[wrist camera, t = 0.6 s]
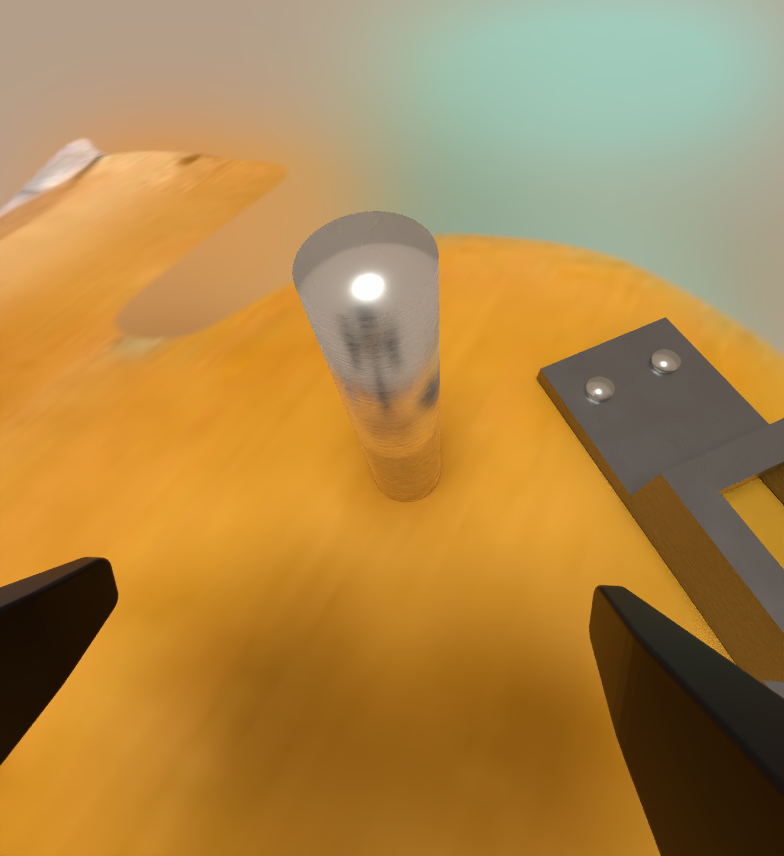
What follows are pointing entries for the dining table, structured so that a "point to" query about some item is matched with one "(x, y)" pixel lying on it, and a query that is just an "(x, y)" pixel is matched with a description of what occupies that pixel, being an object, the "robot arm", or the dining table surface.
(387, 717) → the dining table surface
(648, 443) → the grey socket base plate
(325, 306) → the pin
